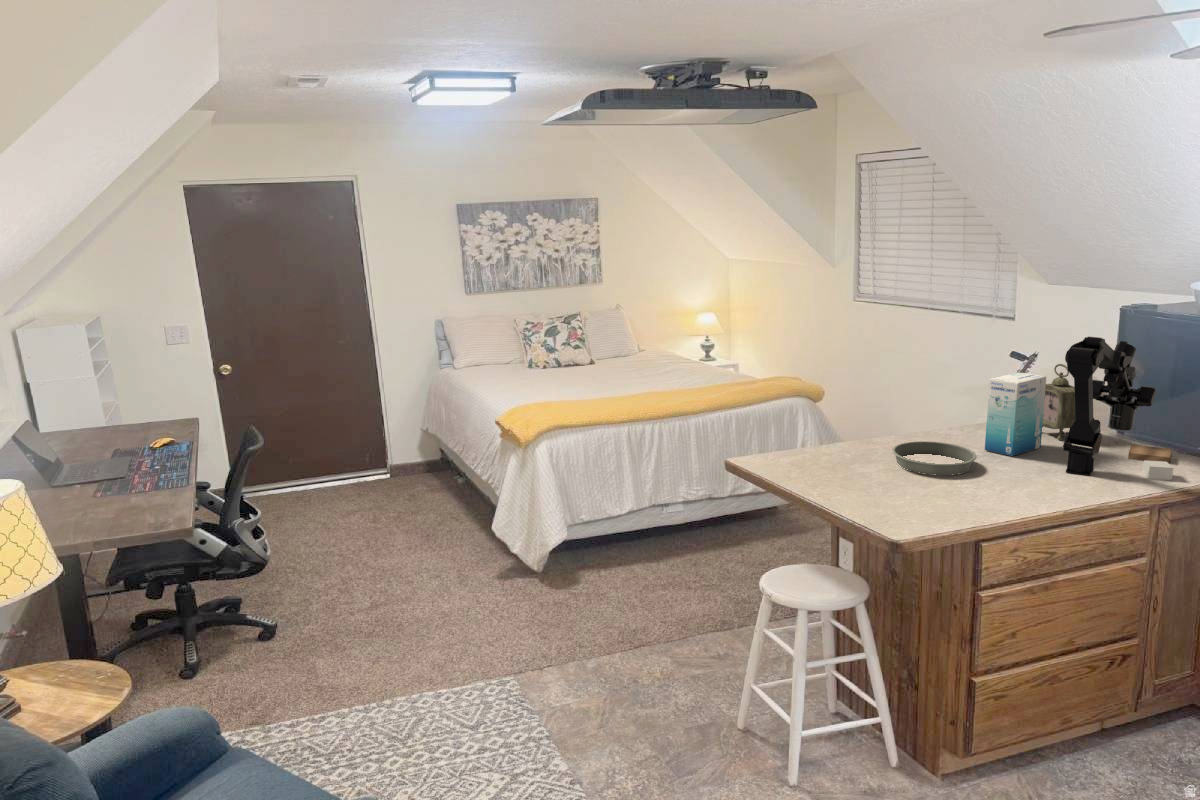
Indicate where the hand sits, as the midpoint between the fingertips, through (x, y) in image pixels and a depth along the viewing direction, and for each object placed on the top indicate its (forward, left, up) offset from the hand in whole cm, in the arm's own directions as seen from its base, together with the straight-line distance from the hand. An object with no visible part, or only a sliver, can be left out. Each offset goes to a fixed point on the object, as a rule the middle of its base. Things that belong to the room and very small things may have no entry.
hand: (1124, 407), depth 289 cm
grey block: (+11, -29, -13) cm, 34 cm away
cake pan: (-47, -49, -14) cm, 70 cm away
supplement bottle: (0, -1, -7) cm, 7 cm away
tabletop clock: (-19, +5, -13) cm, 24 cm away
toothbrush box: (-29, -19, -13) cm, 38 cm away
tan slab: (+9, -8, -13) cm, 18 cm away
